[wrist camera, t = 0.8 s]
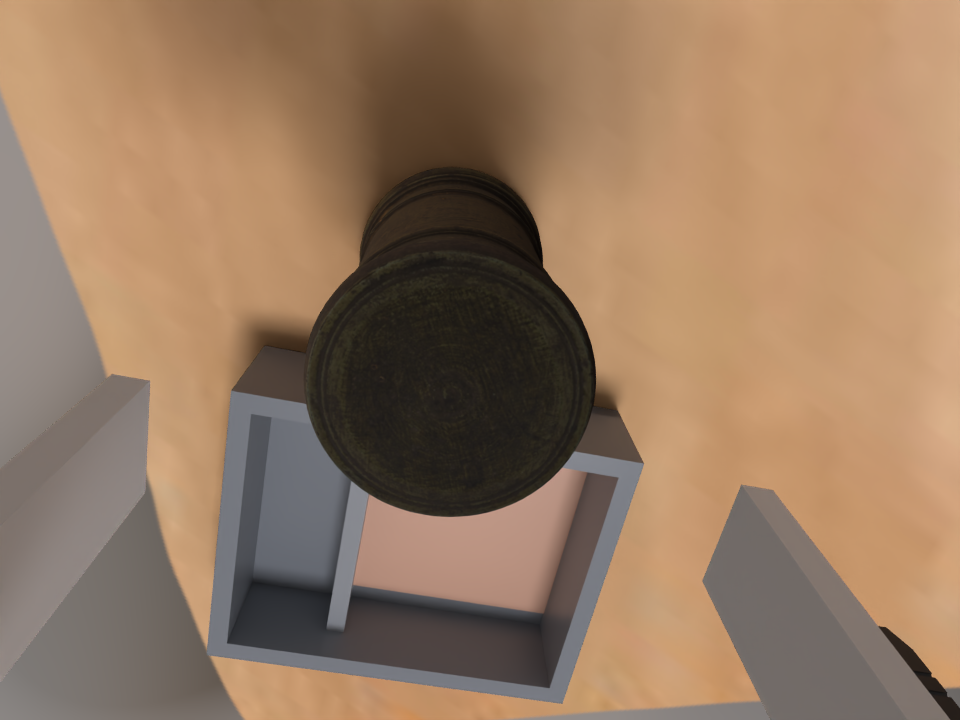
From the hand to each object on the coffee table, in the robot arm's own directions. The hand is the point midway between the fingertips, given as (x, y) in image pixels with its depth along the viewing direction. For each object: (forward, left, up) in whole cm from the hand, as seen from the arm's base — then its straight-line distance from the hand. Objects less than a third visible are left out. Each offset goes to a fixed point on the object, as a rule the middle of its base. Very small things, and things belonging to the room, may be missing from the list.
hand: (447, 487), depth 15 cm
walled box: (+15, +1, -22) cm, 27 cm away
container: (0, 0, -23) cm, 23 cm away
